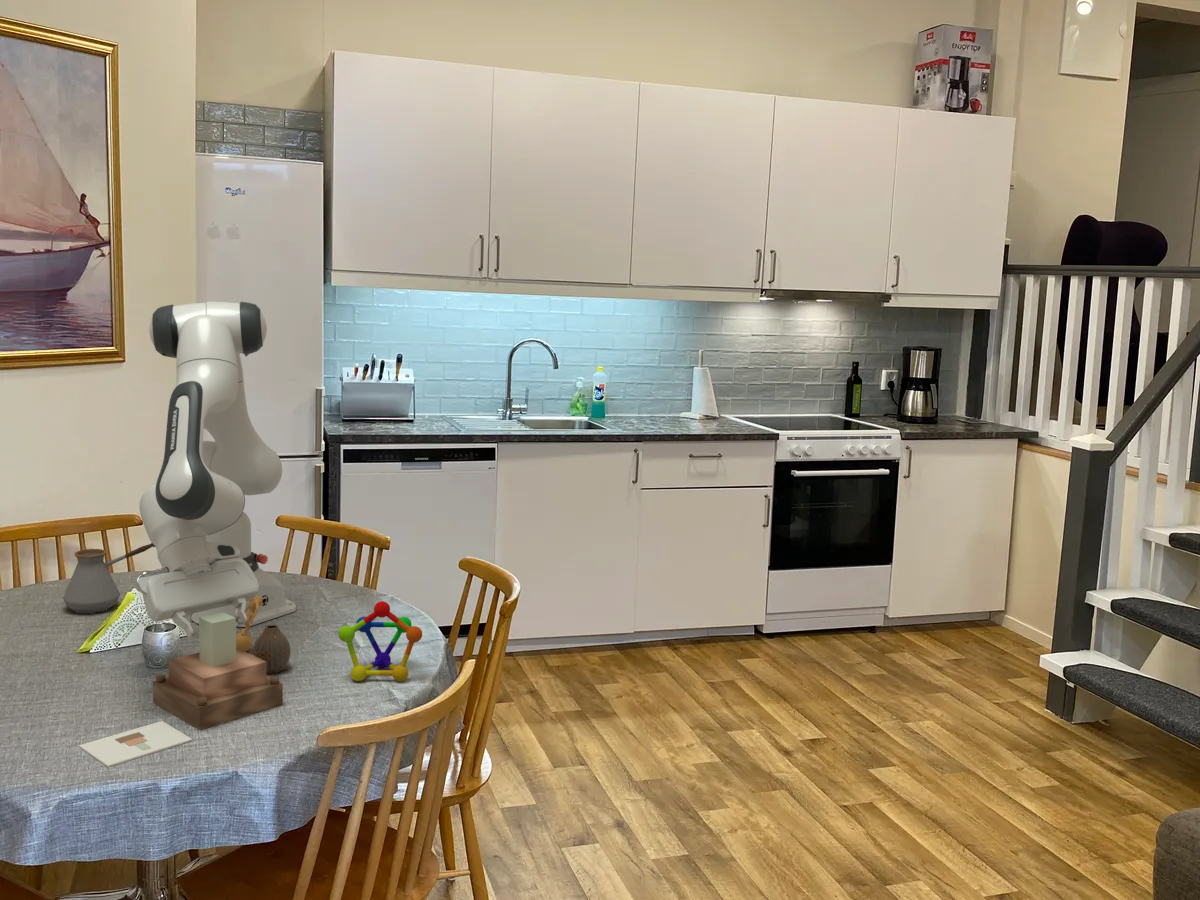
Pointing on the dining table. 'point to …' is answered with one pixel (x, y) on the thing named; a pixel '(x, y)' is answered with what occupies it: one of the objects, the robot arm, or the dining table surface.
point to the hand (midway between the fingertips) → (218, 628)
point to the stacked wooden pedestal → (216, 689)
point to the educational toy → (382, 657)
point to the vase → (272, 649)
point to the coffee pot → (94, 581)
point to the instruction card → (135, 743)
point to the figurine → (248, 625)
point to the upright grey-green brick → (217, 639)
